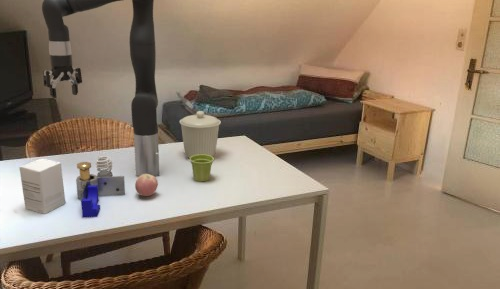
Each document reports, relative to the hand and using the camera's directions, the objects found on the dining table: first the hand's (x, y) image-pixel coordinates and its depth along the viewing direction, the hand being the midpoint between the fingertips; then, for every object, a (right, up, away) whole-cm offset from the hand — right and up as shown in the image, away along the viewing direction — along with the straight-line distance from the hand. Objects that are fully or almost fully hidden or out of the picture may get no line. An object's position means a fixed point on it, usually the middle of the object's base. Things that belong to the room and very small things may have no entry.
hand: (64, 96), depth 165 cm
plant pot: (+52, -32, +5) cm, 61 cm away
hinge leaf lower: (+15, -38, -18) cm, 45 cm away
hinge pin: (+14, -37, -13) cm, 41 cm away
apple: (+34, -37, -11) cm, 52 cm away
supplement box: (+3, -39, -22) cm, 45 cm away
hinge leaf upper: (+19, -37, -13) cm, 43 cm away
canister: (+48, -24, +30) cm, 62 cm away
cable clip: (+19, -40, -22) cm, 50 cm away
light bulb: (+17, -34, -5) cm, 39 cm away
